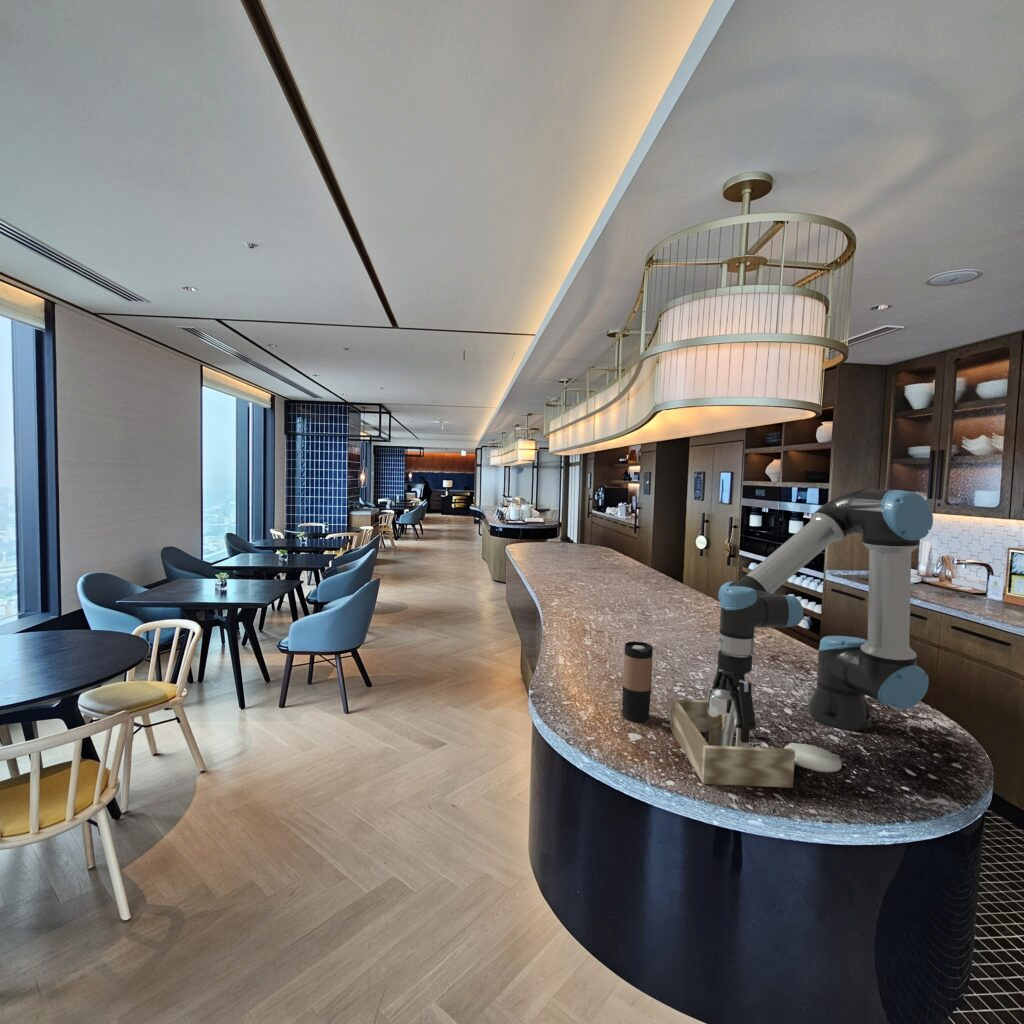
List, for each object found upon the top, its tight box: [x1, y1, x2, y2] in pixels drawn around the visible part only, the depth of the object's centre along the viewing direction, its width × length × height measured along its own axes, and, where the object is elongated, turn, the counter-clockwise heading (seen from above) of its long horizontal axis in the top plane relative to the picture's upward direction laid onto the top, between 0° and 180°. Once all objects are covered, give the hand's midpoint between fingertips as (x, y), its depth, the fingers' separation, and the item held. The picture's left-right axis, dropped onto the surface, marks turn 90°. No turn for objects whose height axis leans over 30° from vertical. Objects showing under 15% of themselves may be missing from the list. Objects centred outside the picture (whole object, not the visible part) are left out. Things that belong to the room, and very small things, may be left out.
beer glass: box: [706, 688, 737, 746], centre depth 126 cm, size 7×7×15 cm
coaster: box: [784, 743, 843, 774], centre depth 126 cm, size 12×12×1 cm
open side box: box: [669, 698, 795, 788], centre depth 126 cm, size 19×25×8 cm
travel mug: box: [621, 641, 654, 723], centre depth 145 cm, size 8×8×20 cm
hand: (729, 739), depth 126 cm, fingers open, 13 cm apart
